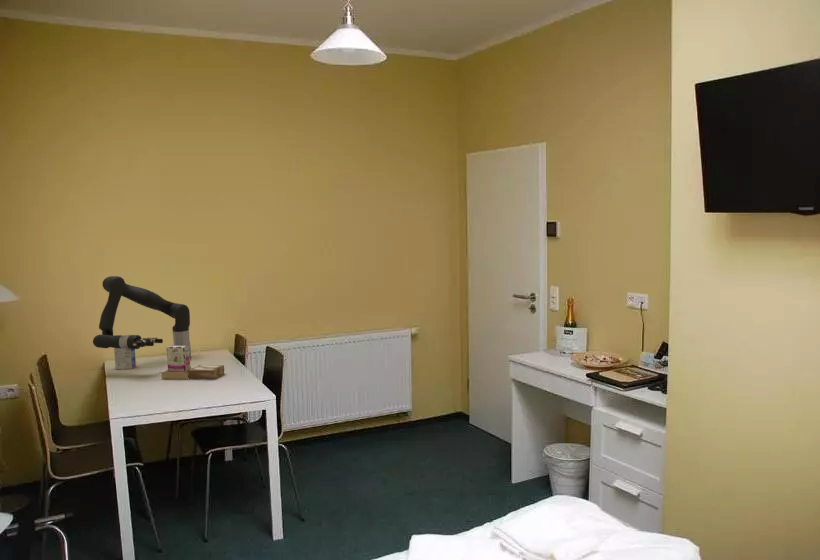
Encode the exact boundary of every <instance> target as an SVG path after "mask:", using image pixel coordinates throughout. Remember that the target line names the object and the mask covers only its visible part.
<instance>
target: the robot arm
mask: <svg viewBox="0 0 820 560" xmlns="http://www.w3.org/2000/svg"><path fill="white" fill-rule="evenodd" d="M101 284H102V288H103V289H104V290H105V291H106V292H107V293H108V298H107V301H106V303H105V306H104V307H103V310H102V312H101V315H100V319H99V324H98V329H99V330H100V331H101V334H97V335H95V336H94V338H92V345H94V347H96V348H99V349H110V348H112V349H114V348H124V349H135V350H139V349H140V348H144V347H154V346H155V344H163V341H164V340H163V338H158V337H143V338H142V336H141V335H139V334H126V335H124V334H123V335H122V334H119V335H118V334H116V335H115V334H114V324H115V321H116V320H115V318H116V314H117V312H118V307H119V304H120V301H121V298H122V297H123V298H125V299H127V300H130V301H132V302H134V303H136V304H138V305H141V306H143V307H144V308H148V309H152V310H154V311H158V312H162V313H163V314H165V315H167V316H169V317H170V318H172V319H175V320H174V325H173V326H172V341H173V344H172V345H176V346H189V351H190V359H191V358H192V351H191V350H192V349H191V340H190V326H191V319H190V318H191V317H190V315H191V314H190V309H189V308H190V307H188V305H186V304H183V303H178V302H177V303H176V302H173V301H170V300H168V299H164V298H163V297H162V296H160V295H159V294H158V293H156V292H154V291H151V290H149V289H146V288H142V287H139V286H135V285H131V284H127V283H126V281H125V279H124V278H123V277H121V276H117V275H114V276H113V275H111V276H107V277H105V278H104V279H103V281H102V282H101Z"/></svg>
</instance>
